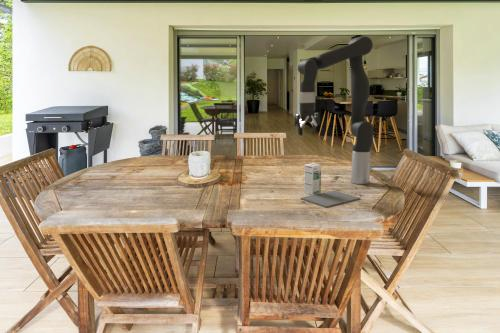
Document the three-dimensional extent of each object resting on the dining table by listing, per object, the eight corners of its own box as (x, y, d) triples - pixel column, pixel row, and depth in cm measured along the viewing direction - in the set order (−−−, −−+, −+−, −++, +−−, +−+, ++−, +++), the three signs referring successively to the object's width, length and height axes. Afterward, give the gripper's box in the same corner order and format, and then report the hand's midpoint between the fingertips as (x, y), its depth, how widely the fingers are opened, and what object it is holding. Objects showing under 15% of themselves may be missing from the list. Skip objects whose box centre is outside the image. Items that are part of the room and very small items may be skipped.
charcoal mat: (334, 191, 189) (334, 190, 188) (360, 199, 176) (360, 197, 176) (300, 199, 176) (300, 197, 176) (326, 207, 163) (326, 206, 163)
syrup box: (312, 195, 182) (313, 165, 179) (303, 193, 186) (304, 164, 183) (320, 193, 185) (321, 164, 182) (312, 191, 190) (312, 162, 187)
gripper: (313, 100, 194) (313, 132, 197) (291, 102, 186) (291, 135, 190) (323, 101, 187) (323, 134, 191) (300, 102, 180) (300, 136, 183)
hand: (307, 134), depth 190 cm, fingers open, 8 cm apart
